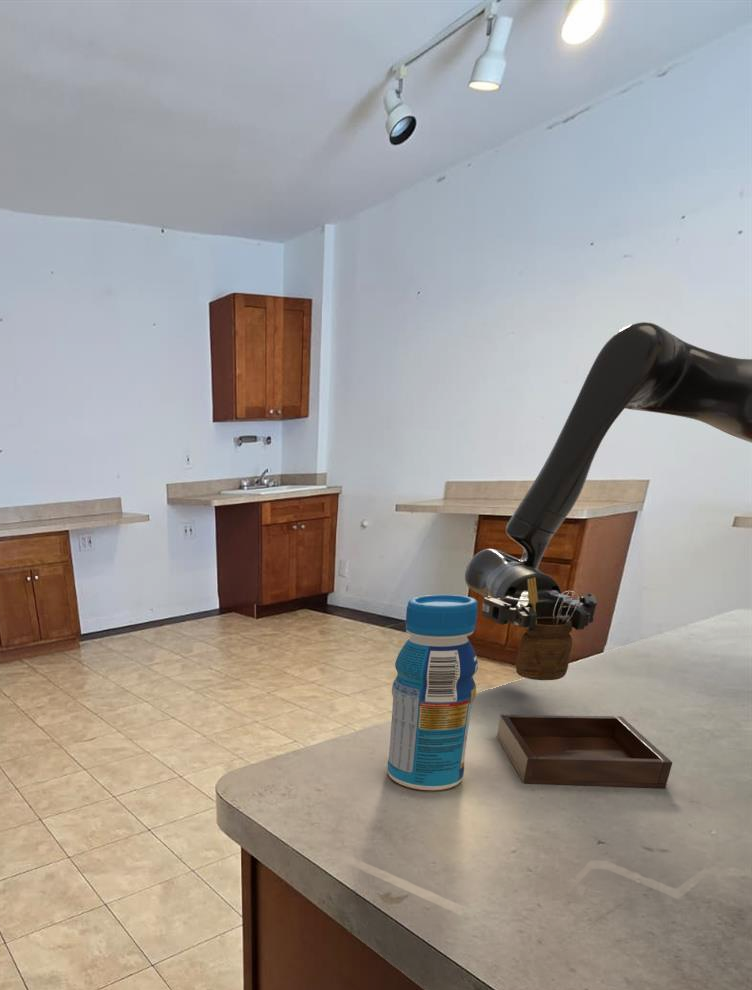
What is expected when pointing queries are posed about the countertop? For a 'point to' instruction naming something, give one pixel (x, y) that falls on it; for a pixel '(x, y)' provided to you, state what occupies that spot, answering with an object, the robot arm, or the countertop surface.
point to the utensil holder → (545, 644)
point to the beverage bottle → (433, 693)
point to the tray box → (581, 751)
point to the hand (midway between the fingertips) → (557, 621)
